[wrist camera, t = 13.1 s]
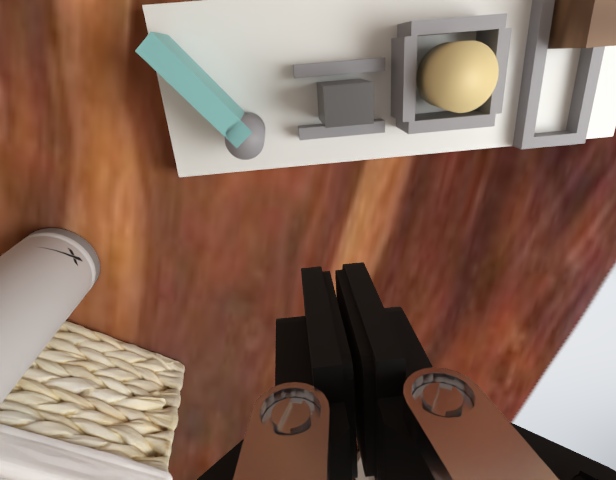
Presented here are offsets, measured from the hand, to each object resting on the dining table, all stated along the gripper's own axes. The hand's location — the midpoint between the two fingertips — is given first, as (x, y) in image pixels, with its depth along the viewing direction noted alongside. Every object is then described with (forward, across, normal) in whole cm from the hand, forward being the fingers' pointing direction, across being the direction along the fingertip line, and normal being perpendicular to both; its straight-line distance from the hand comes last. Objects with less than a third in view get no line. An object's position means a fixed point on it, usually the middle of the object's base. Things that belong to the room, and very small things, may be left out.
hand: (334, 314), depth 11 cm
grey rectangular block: (+20, -3, -4) cm, 21 cm away
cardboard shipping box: (+20, -19, -8) cm, 29 cm away
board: (+22, -8, -5) cm, 24 cm away
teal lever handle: (+20, +5, -5) cm, 21 cm away
